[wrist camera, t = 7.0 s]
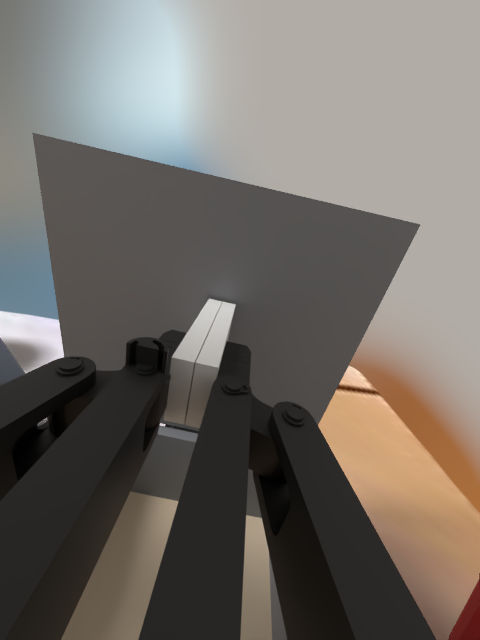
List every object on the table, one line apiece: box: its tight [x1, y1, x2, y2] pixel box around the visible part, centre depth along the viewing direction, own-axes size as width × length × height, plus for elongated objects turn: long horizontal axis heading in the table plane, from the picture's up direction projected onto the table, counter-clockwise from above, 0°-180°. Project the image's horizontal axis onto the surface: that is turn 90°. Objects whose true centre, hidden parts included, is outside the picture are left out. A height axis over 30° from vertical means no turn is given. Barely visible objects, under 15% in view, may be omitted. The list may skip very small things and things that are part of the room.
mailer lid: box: [33, 133, 420, 431], centre depth 16 cm, size 18×17×1 cm
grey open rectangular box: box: [61, 426, 287, 640], centre depth 13 cm, size 18×17×8 cm
